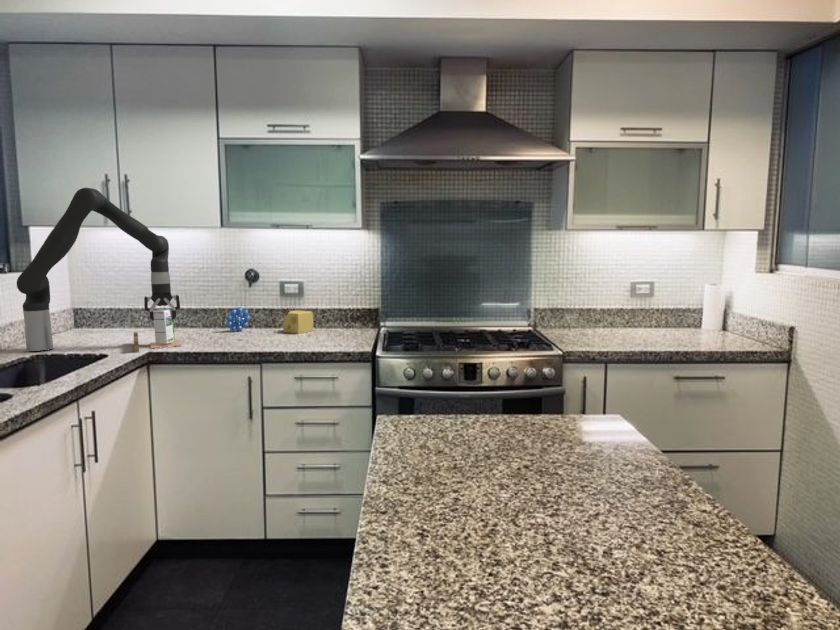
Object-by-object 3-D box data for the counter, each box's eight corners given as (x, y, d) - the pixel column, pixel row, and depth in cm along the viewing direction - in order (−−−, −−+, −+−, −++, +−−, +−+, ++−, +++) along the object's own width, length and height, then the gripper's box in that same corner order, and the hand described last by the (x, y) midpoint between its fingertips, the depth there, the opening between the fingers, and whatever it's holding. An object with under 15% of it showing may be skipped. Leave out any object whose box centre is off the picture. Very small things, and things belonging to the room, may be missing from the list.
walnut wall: (139, 352, 242) (138, 340, 241) (134, 352, 241) (133, 340, 241) (138, 343, 262) (137, 332, 261) (134, 343, 261) (133, 332, 260)
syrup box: (167, 343, 253) (164, 310, 251) (154, 343, 254) (152, 310, 252) (175, 341, 258) (172, 308, 256) (163, 340, 259) (160, 308, 257)
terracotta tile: (150, 349, 248) (150, 347, 248) (150, 344, 259) (149, 342, 259) (181, 346, 254) (181, 345, 254) (179, 341, 264) (179, 340, 264)
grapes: (249, 329, 295) (248, 305, 293) (251, 331, 289) (250, 307, 287) (225, 331, 291) (224, 307, 289) (227, 333, 284) (225, 308, 283)
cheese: (283, 332, 286) (282, 312, 285) (299, 329, 295) (299, 309, 294) (298, 334, 281) (297, 313, 279) (314, 331, 289) (313, 311, 288)
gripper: (177, 281, 259) (180, 317, 261) (142, 282, 252) (145, 319, 255) (179, 282, 252) (181, 319, 254) (142, 283, 246) (145, 322, 248)
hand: (163, 319), depth 255 cm, fingers closed on syrup box, 8 cm apart
